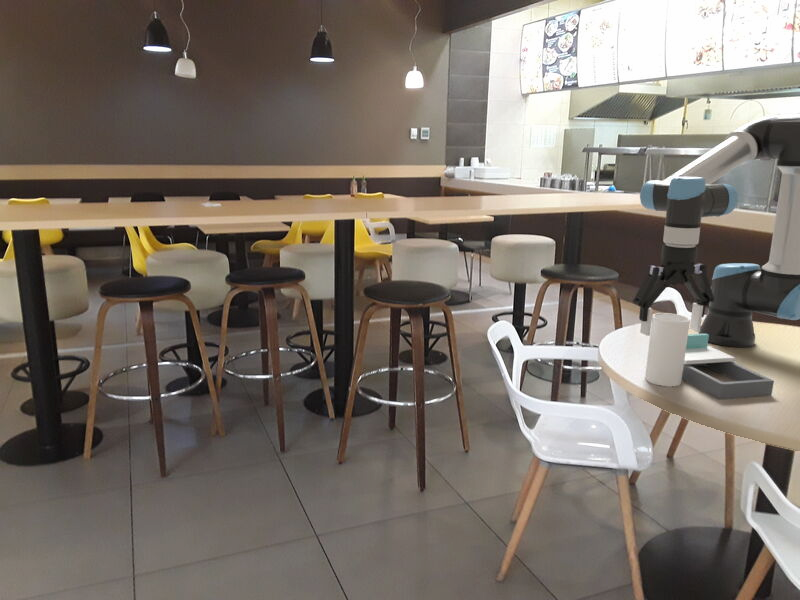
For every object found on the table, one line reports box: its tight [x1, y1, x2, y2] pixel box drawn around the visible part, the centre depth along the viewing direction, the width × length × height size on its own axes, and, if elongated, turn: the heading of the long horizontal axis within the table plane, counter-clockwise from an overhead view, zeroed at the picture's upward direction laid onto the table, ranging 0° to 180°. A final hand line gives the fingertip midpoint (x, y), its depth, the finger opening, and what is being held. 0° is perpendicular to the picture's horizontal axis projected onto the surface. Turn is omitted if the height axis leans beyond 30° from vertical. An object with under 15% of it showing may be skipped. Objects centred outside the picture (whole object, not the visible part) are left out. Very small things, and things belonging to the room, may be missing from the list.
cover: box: [684, 333, 736, 365], centre depth 158 cm, size 14×9×4 cm
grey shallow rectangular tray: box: [682, 361, 775, 400], centre depth 153 cm, size 14×22×4 cm, turn 13°
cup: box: [644, 312, 691, 388], centre depth 151 cm, size 8×8×16 cm
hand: (670, 332), depth 150 cm, fingers open, 13 cm apart
